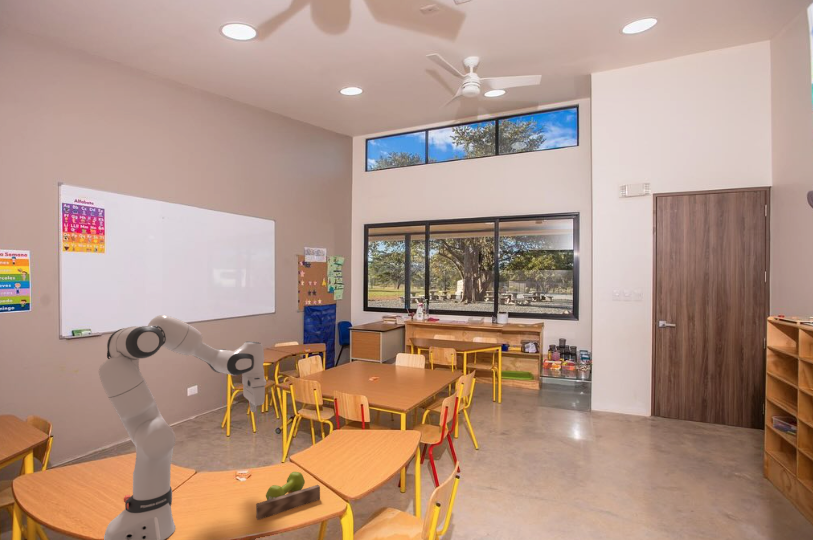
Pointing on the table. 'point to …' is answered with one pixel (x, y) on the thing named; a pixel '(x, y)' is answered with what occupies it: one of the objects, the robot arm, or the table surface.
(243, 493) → the table surface
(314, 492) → the walnut board
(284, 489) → the dumbbell
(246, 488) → the table surface
